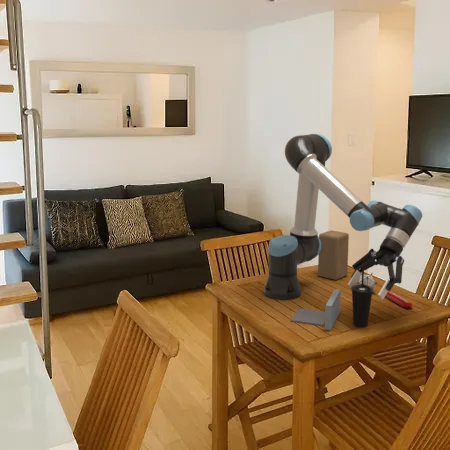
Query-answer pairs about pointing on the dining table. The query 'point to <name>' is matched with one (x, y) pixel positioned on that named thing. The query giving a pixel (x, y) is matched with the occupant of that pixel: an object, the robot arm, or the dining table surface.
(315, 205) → the robot arm
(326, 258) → the wooden block
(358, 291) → the drinking cup
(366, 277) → the game die
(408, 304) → the candy bar
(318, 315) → the rubber mat
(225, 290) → the dining table surface
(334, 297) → the low wall
